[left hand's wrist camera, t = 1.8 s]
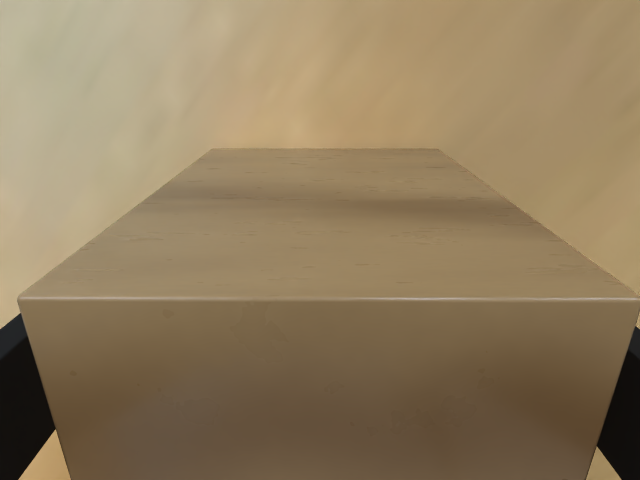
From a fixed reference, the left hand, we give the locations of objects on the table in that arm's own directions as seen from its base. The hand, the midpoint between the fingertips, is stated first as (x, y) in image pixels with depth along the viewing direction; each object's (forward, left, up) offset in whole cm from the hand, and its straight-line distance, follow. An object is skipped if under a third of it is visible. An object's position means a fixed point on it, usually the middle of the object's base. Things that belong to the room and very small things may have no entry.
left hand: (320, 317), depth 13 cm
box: (+8, +5, -4) cm, 11 cm away
